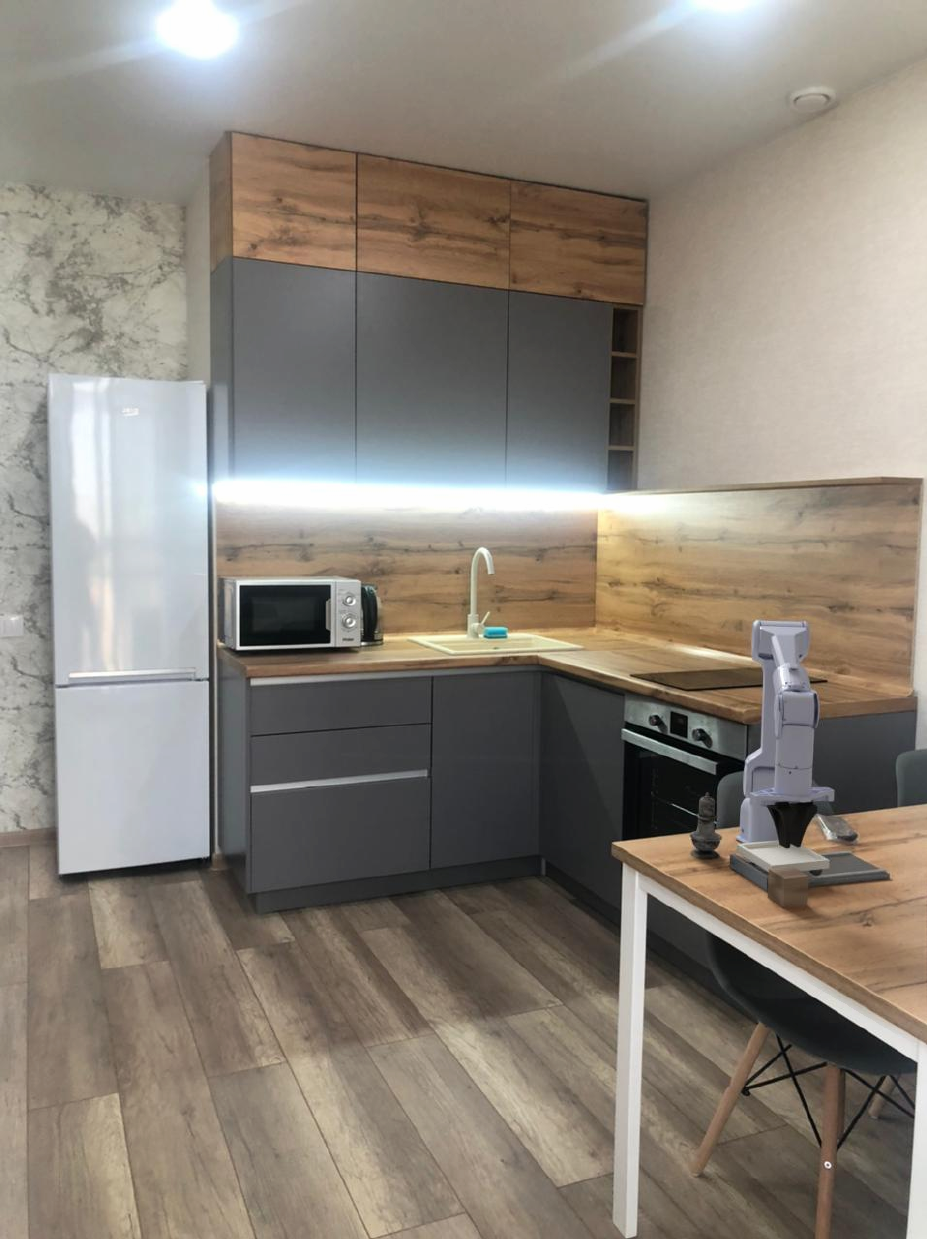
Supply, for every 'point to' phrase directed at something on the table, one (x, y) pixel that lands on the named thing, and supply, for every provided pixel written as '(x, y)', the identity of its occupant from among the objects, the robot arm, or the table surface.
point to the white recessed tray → (783, 856)
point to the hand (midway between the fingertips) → (789, 846)
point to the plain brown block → (788, 887)
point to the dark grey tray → (840, 871)
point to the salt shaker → (706, 831)
